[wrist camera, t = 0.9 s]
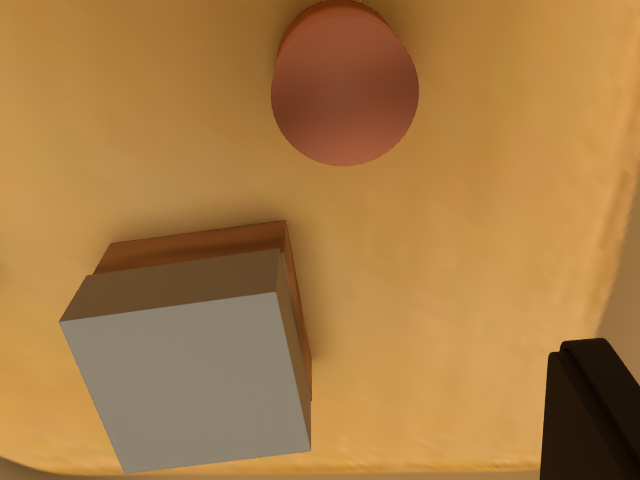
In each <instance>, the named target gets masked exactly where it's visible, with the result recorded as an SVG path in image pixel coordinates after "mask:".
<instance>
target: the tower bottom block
mask: <svg viewBox="0 0 640 480" xmlns="http://www.w3.org/2000/svg"><path fill="white" fill-rule="evenodd" d="M278 248H279V249H280V254H281V259H282V263H283V268H284V273H285V278H286V282H287V287H288V292H289V297H290V302H291V306H292V311H293V316H294V321H295V325H296V330H297V335H298V340H299V344H300V349H301V354H302V359H303V364H304V368H305V373H306V378H307V383H308V387H309V392H310V397H311V401H312V370H311V356H310V350H309V345H308V339H307V334H306V328H305V323H304V317H303V312H302V306H301V301H300V295H299V290H298V284H297V279H296V273H295V268H294V262H293V257H292V251H291V246H290V240H289V235H288V230H287V224H286V220H284V221H277V222H269V223H262V224H254V225H247V226H239V227H231V228H224V229H216V230H209V231H201V232H194V233H186V234H179V235H171V236H163V237H156V238H148V239H141V240H133V241H126V242H118V243H111V244H110V246H109V247H108V249H107V251H106V252H105V254H104V256H103V257H102V259H101V261H100V263H99V264H98V266H97V268H96V269H95V271H94V273H93V275H95V274H102V273H109V272H116V271H123V270H130V269H137V268H144V267H151V266H158V265H165V264H172V263H179V262H186V261H193V260H200V259H207V258H214V257H221V256H228V255H236V254H243V253H250V252H257V251H264V250H271V249H278Z"/></svg>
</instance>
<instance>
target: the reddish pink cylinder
mask: <svg viewBox="0 0 640 480" xmlns="http://www.w3.org/2000/svg"><path fill="white" fill-rule="evenodd" d="M418 97H419V85H418V77H417V73H416V69H415V66H414V64H413V62H412V59H411V57H410V56H409V54H408V52H407V51H406V49H405V48H404V46H403V45H402V43H401V42H400V41H399V39H398V38H397V36H396V35H395V34H394V32H393V31H392V29H391V28H390V27H389V25H388V24H387V23H386V21H385V20H384V19H383V18H382V17H381V16H380V15H379V14H378V13H377V12H375V11H374V10H372V9H371V8H369V7H367V6H365V5H364V4H361V3H358V2H355V1H350V0H328V1H324V2H320V3H318V4H315V5H313V6H311V7H309V8H307V9H306V10H304V11H303V12H302V13H300V14H299V15H298V16H297V17H296V18H295V19H294V20H293V21H292V23H291V24H290V25H289V26H288V28H287V30H286V31H285V33H284V35H283V38H282V40H281V43H280V46H279V50H278V55H277V60H276V65H275V70H274V74H273V80H272V86H271V102H272V109H273V113H274V117H275V119H276V122H277V124H278V126H279V128H280V130H281V132H282V134H283V135H284V136H285V138H286V139H287V140H288V141H289V142H290V144H291V145H292V146H293V147H294V148H296V149H297V150H298V151H299V152H301V153H302V154H304V155H305V156H307V157H309V158H311V159H313V160H315V161H317V162H321V163H324V164H328V165H334V166H352V165H358V164H363V163H366V162H369V161H372V160H374V159H376V158H378V157H380V156H381V155H383V154H385V153H386V152H388V151H389V150H390V149H391V148H393V147H394V146H395V145H396V144H397V143H398V142H399V141H400V140H401V138H402V137H403V136H404V134H405V133H406V132H407V130H408V128H409V127H410V125H411V123H412V120H413V118H414V116H415V112H416V109H417V105H418Z"/></svg>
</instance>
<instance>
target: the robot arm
mask: <svg viewBox="0 0 640 480" xmlns="http://www.w3.org/2000/svg"><path fill="white" fill-rule="evenodd" d="M540 480H640V386H639V384H638V383H637V382H636V381H635V379H634V377H633V376H632V375H631V373H630V372H629V370H628V369H627V367H626V366H625V365H624V363H623V362H622V360H621V359H620V358H619V356H618V355H617V353H616V352H615V351H614V349H613V348H612V346H611V345H610V344H609V342H608V341H607V340H606V339H604V338H594V339H582V340H571V341H564V342H562V344H561V346H560V351H559V352H551V353H550V354H549V357H548V367H547V381H546V396H545V410H544V425H543V439H542V454H541V468H540Z"/></svg>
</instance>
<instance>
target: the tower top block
mask: <svg viewBox="0 0 640 480" xmlns="http://www.w3.org/2000/svg"><path fill="white" fill-rule="evenodd" d="M59 324H60V326H61V328H62V331H63V333H64V335H65V338H66V340H67V342H68V345H69V347H70V349H71V352H72V354H73V356H74V358H75V361H76V363H77V365H78V368H79V370H80V372H81V375H82V377H83V379H84V381H85V384H86V386H87V388H88V391H89V393H90V395H91V398H92V400H93V402H94V405H95V407H96V409H97V411H98V414H99V416H100V418H101V421H102V423H103V425H104V428H105V430H106V432H107V435H108V437H109V439H110V441H111V444H112V446H113V448H114V451H115V453H116V455H117V458H118V460H119V462H120V465H121V467H122V469H123V471H124V474H130V473H138V472H146V471H155V470H163V469H171V468H179V467H187V466H195V465H203V464H211V463H219V462H227V461H235V460H243V459H252V458H260V457H268V456H276V455H284V454H292V453H300V452H308V451H311V397H310V392H309V387H308V383H307V378H306V373H305V368H304V364H303V359H302V354H301V349H300V344H299V340H298V335H297V330H296V325H295V321H294V316H293V311H292V306H291V302H290V297H289V292H288V287H287V282H286V278H285V273H284V268H283V263H282V259H281V254H280V249H279V248H278V249H271V250H264V251H257V252H250V253H243V254H236V255H228V256H221V257H214V258H207V259H200V260H193V261H186V262H179V263H172V264H165V265H158V266H151V267H144V268H137V269H130V270H123V271H116V272H109V273H102V274H95V275H88V276H86V277H85V279H84V281H83V282H82V284H81V286H80V287H79V289H78V291H77V292H76V294H75V296H74V297H73V299H72V301H71V302H70V304H69V306H68V307H67V309H66V311H65V312H64V314H63V316H62V317H61V319H60V321H59Z"/></svg>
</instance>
